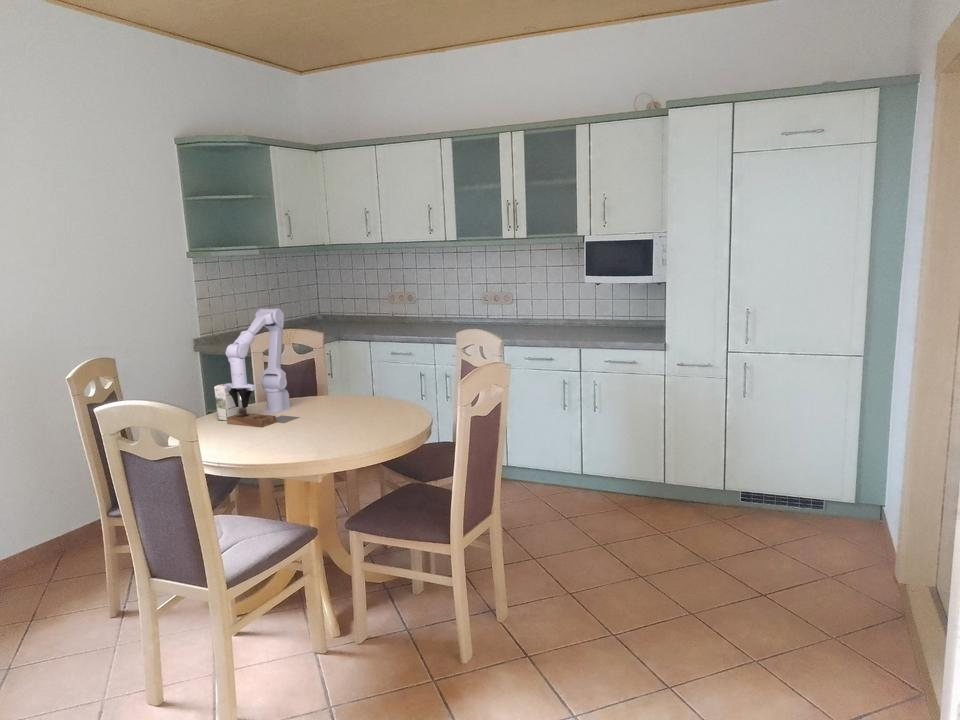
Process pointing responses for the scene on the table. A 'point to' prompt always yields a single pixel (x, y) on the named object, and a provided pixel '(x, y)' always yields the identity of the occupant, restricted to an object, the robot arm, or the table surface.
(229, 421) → the walnut hole block
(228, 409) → the syrup box
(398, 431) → the table surface
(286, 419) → the rubber mat
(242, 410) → the peg
